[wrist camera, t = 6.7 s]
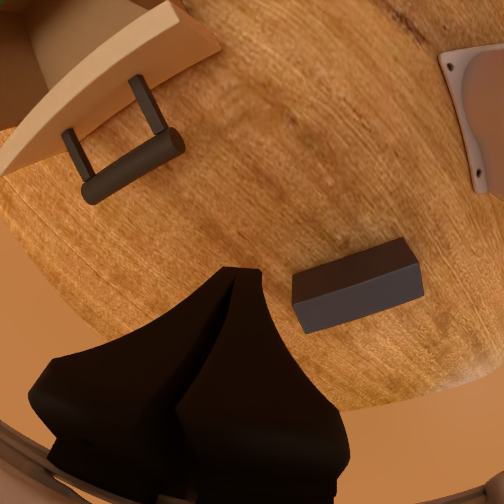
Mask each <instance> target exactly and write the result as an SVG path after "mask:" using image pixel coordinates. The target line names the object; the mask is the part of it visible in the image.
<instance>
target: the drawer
mask: <svg viewBox="0 0 504 504" xmlns="http://www.w3.org/2000/svg"><path fill="white" fill-rule="evenodd" d="M221 50H222V48H221V46H220V44H219V42H218V40H217V38H216V37H215V35H214V34H213V33H212V32H211V31H210V30H208V29H207V28H206V27H204V26H203V25H202V24H201V23H199V22H198V21H197V20H195V19H194V18H193V17H191V16H190V15H189V14H188V13H187V11H186V9H185V8H184V6H183V4H182V2H181V1H180V0H6V1H5V3H4V4H3V5H2V6H1V8H0V131H2V130H5V129H9V128H13V127H16V126H18V127H17V128H16V129H15V130H14V132H13V133H12V134H11V135H10V137H9V138H8V139H7V140H6V142H5V143H4V144H3V146H2V147H1V148H0V177H2V176H5V175H7V174H9V173H12V172H14V171H16V170H19V169H21V168H23V167H26V166H28V165H31V164H33V163H36V162H38V161H41V160H44V159H46V158H49V157H52V156H54V155H57V154H60V153H63V152H66V151H68V152H69V154H70V156H71V158H72V160H73V162H74V164H75V166H76V168H77V170H78V172H79V174H80V176H81V178H82V180H83V182H85V183H84V184H83V185H82V187H81V194H82V196H83V198H84V200H85V201H86V202H87V203H88V204H90V205H96V204H98V203H99V202H101V201H103V200H104V199H106V198H107V197H109V196H110V195H112V194H114V193H115V192H117V191H118V190H120V189H122V188H123V187H125V186H127V185H128V184H130V183H132V182H133V181H135V180H137V179H138V178H140V177H142V176H144V175H145V174H147V173H149V172H150V171H152V170H154V169H156V168H158V167H159V166H161V165H163V164H165V163H167V162H168V161H170V160H172V159H174V158H176V157H178V156H180V155H181V154H183V153H184V152H185V144H184V141H183V139H182V137H181V135H180V134H179V132H178V131H177V130H176V129H175V128H173V127H168V125H167V123H166V121H165V119H164V117H163V115H162V113H161V111H160V109H159V107H158V105H157V103H156V101H155V99H154V97H153V95H152V93H151V91H150V90H151V89H153V88H154V87H156V86H157V85H159V84H161V83H162V82H164V81H166V80H167V79H169V78H171V77H172V76H174V75H176V74H177V73H179V72H181V71H183V70H185V69H186V68H188V67H190V66H192V65H194V64H195V63H197V62H199V61H201V60H203V59H205V58H207V57H209V56H211V55H213V54H215V53H217V52H219V51H221ZM136 99H137V101H138V103H139V105H140V107H141V109H142V111H143V113H144V115H145V117H146V119H147V121H148V123H149V125H150V127H151V129H152V131H153V133H154V135H156V136H154V137H152V138H151V139H149V140H147V141H146V142H144V143H143V144H141V145H139V146H138V147H136V148H135V149H133V150H131V151H130V152H128V153H127V154H125V155H124V156H122V157H121V158H119V159H118V160H116V161H115V162H113V163H112V164H110V165H109V166H107V167H106V168H104V169H103V170H102V171H100V172H99V173H97V174H95V172H94V170H93V168H92V166H91V164H90V162H89V160H88V158H87V156H86V154H85V152H84V150H83V148H82V146H81V144H80V142H79V141H81V140H82V139H83V138H84V137H85V136H87V135H88V134H89V133H90V132H92V131H93V130H94V129H96V128H97V127H98V126H99V125H101V124H102V123H103V122H105V121H106V120H107V119H109V118H110V117H111V116H113V115H114V114H116V113H117V112H118V111H120V110H121V109H123V108H124V107H125V106H127V105H128V104H130V103H131V102H133V101H134V100H136Z"/></svg>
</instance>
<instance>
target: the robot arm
mask: <svg viewBox="0 0 504 504" xmlns="http://www.w3.org/2000/svg"><path fill="white" fill-rule="evenodd" d="M438 60H439V63H440V66H441V68H442V71H443V73H444V76H445V79H446V82H447V85H448V88H449V90H450V93H451V97H452V100H453V103H454V106H455V109H456V113H457V116H458V120H459V123H460V127H461V131H462V135H463V139H464V143H465V147H466V152H467V156H468V161H469V166H470V172H471V177H472V183H473V189H474V191H475V192H476V193H478V194H484V193H486V192H490V193H492V194H493V195H495V196H496V197H498V198H499V199H501V200H503V201H504V43H503V44H493V45H485V46H477V47H470V48H464V49H458V50H452V51H446V52H442V53H440V54H439V55H438ZM447 64H449V65H450V66H451V71H449V70H448V68H447ZM477 170H479V174H478V175H476V172H477ZM28 399H29V402H30V405H31V407H32V408H33V410H34V411H35V413H36V414H37V415H38V417H39V418H40V419H41V420H42V421H43V423H44V424H45V425H46V426H47V427H48V428H49V430H50V431H51V432H52V433H53V434H54V435H55V437H56V438H57V439H56V441H55V443H54V444H53V446H52V448H51V450H49V449H47V448H45V447H44V446H42V445H40V444H38V443H36V442H35V441H33V440H31V439H29V438H28V437H26V436H24V435H23V434H21V433H20V432H18V431H16V430H15V429H13V428H11V427H10V426H9V425H7V424H5V423H4V422H3V421H1V420H0V504H92V503H90V502H88V501H87V500H85V499H84V498H82V497H81V496H80V495H78V494H77V493H76V492H74V490H72V489H71V488H69V487H68V486H66V485H65V484H63V483H61V482H59V481H58V480H56V479H55V478H54V477H56V478H58V479H60V480H62V481H64V482H66V483H68V484H70V485H72V486H74V487H76V488H78V489H80V490H82V491H84V492H86V493H88V494H91V495H93V496H95V497H97V498H100V499H102V500H104V501H107V502H109V503H112V504H334V497H335V496H336V493H337V479H338V477H339V476H340V475H341V473H342V472H343V471H344V469H345V468H346V466H347V465H348V463H349V460H350V449H349V443H348V438H347V434H346V431H345V427H344V424H343V421H342V419H341V416H340V413H339V411H338V409H337V408H336V407H335V406H334V405H333V404H332V403H331V402H330V401H329V400H328V399H327V398H326V397H325V396H324V395H323V394H322V393H321V392H320V391H319V390H318V389H317V388H316V387H315V386H314V384H313V383H312V382H311V381H310V380H309V378H308V377H307V376H306V375H305V373H304V372H303V371H302V369H301V368H300V367H299V365H298V364H297V362H296V361H295V360H294V358H293V357H292V356H291V354H290V352H289V351H288V349H287V347H286V346H285V344H284V342H283V341H282V339H281V337H280V335H279V333H278V331H277V329H276V327H275V325H274V322H273V320H272V318H271V315H270V313H269V310H268V307H267V304H266V300H265V297H264V293H263V289H262V272H261V271H260V270H259V269H252V268H238V267H225V266H223V267H222V268H221V269H220V270H218V271H217V272H216V273H215V274H214V275H213V276H212V277H211V278H209V279H208V280H207V281H206V282H205V283H204V284H203V285H202V286H200V287H199V288H198V289H197V290H196V291H194V292H193V293H192V294H191V295H190V296H188V297H187V298H186V299H184V300H183V301H182V302H180V303H179V304H178V305H176V306H175V307H174V308H172V309H171V310H170V311H168V312H167V313H165V314H163V315H162V316H160V317H159V318H157V319H155V320H154V321H152V322H150V323H149V324H147V325H145V326H143V327H141V328H139V329H137V330H135V331H133V332H131V333H129V334H127V335H125V336H123V337H120V338H118V339H116V340H113V341H111V342H108V343H106V344H103V345H101V346H97V347H95V348H92V349H89V350H86V351H82V352H78V353H75V354H71V355H67V356H63V357H59V358H54V359H52V360H51V362H50V363H49V364H48V365H47V367H46V368H45V370H44V371H43V372H42V374H41V375H40V377H39V378H38V379H37V381H36V383H35V384H34V385H33V387H32V388H31V390H30V391H29V392H28ZM418 504H504V471H502V472H500V473H499V474H497V475H495V476H494V477H492V478H491V479H490V480H489V481H487V482H486V484H484V485H482V486H479V487H476V488H473V489H470V490H467V491H464V492H461V493H457V494H454V495H450V496H446V497H443V498H439V499H435V500H431V501H426V502H422V503H418Z"/></svg>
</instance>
